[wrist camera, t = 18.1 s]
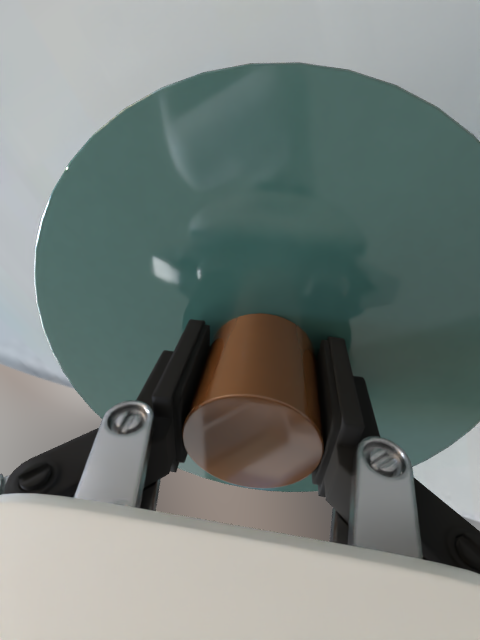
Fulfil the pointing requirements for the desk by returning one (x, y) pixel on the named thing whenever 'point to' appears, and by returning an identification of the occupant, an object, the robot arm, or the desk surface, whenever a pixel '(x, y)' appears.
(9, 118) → the desk surface
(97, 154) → the lid
